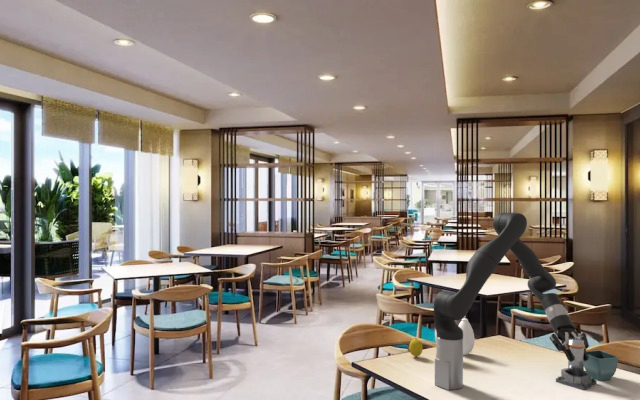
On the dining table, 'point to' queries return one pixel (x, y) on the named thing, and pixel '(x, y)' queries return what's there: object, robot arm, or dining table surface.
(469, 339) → the sauce bottle
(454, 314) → the robot arm
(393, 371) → the dining table surface
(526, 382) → the dining table surface
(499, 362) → the dining table surface
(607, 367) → the flower pot
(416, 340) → the lemon
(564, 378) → the duct flange
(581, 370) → the grey travel mug
